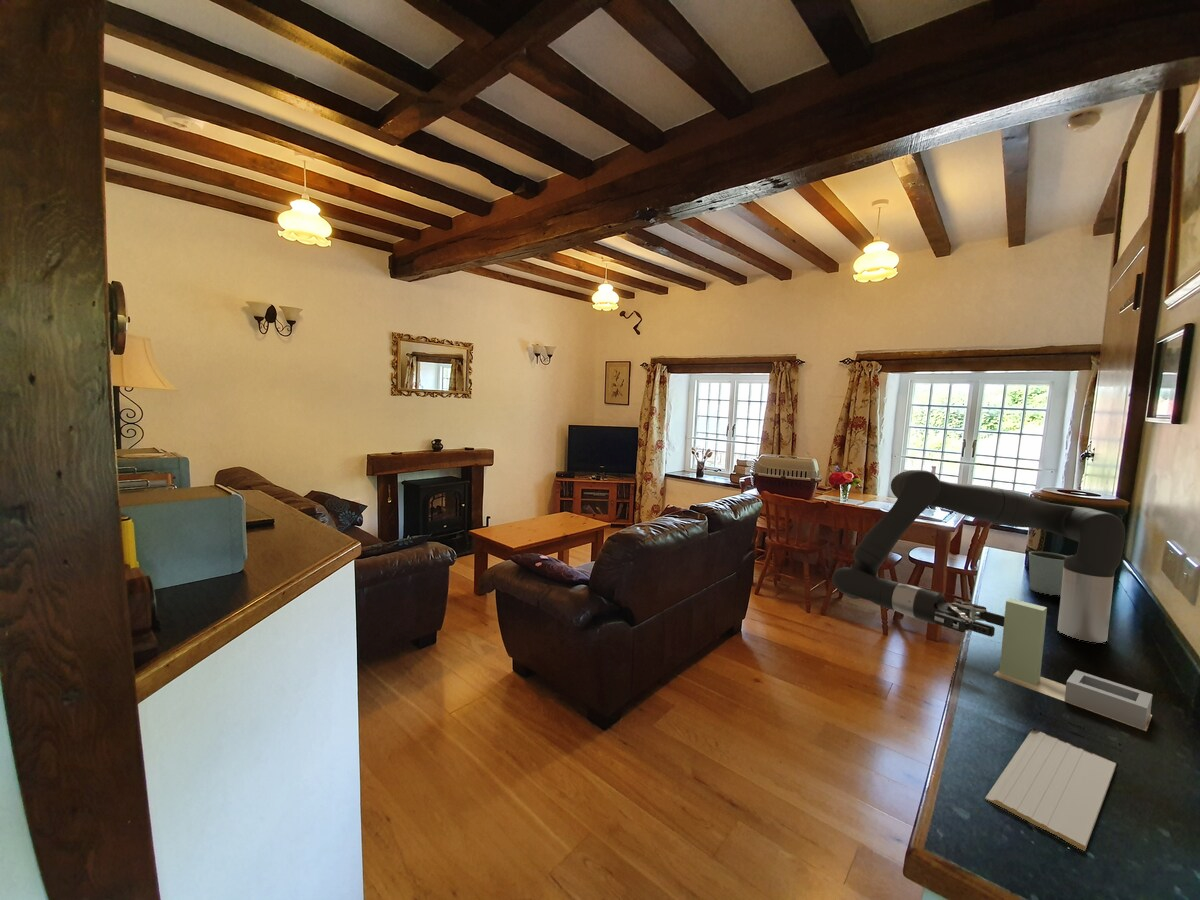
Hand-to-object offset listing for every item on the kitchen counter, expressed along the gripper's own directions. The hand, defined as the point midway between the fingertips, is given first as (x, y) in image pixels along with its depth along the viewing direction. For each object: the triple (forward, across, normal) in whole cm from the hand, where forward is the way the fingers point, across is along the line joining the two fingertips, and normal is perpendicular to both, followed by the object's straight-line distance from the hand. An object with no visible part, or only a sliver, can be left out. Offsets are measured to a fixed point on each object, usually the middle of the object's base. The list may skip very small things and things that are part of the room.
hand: (1000, 627), depth 106 cm
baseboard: (+15, -30, +11) cm, 35 cm away
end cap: (+17, 0, +10) cm, 19 cm away
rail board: (+11, 0, +10) cm, 15 cm away
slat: (+4, 0, +10) cm, 10 cm away
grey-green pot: (-7, +78, +11) cm, 79 cm away
